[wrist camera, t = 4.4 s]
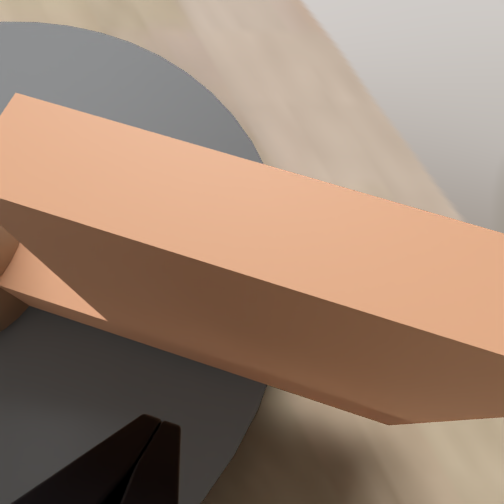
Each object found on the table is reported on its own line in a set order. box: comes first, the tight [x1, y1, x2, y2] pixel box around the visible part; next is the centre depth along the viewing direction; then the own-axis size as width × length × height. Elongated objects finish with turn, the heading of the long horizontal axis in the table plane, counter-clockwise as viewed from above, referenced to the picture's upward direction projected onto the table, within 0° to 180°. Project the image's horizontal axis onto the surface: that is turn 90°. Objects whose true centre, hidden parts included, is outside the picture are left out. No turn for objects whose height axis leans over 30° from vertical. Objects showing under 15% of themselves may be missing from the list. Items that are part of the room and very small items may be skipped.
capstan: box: [0, 93, 504, 425], centre depth 11 cm, size 20×7×10 cm, turn 72°
